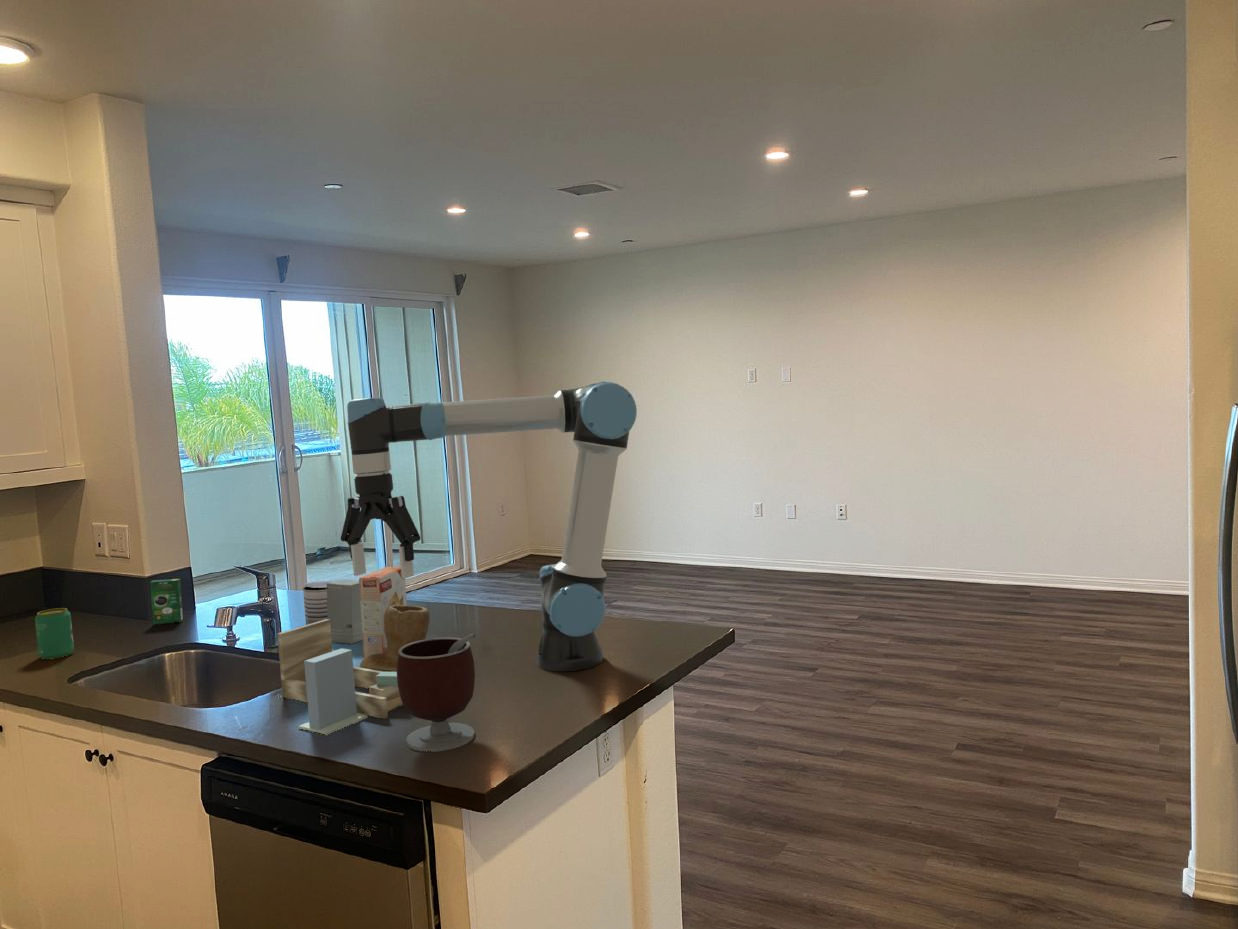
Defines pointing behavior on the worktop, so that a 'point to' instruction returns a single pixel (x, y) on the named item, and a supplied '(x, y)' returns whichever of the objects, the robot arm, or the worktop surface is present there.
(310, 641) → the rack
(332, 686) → the tall white upright block
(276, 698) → the worktop surface
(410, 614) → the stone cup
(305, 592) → the can
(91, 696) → the worktop surface
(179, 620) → the coffee box
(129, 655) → the worktop surface
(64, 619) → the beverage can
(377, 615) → the cracker box
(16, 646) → the worktop surface
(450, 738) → the mate gourd
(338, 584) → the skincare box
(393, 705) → the offcut oak
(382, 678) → the offcut teal
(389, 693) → the offcut pine
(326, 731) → the pad
